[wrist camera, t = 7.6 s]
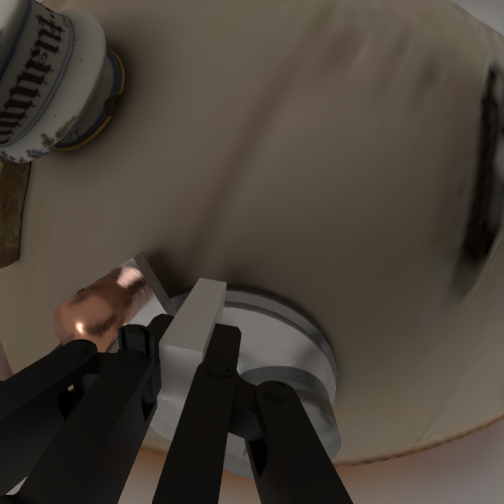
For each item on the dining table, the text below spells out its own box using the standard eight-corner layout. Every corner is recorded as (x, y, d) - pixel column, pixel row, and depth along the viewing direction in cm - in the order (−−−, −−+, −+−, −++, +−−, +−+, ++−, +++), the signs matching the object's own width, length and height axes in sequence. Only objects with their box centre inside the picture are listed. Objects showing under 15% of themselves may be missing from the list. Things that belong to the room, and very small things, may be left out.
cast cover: (304, 347, 18) (318, 406, 12) (341, 416, 20) (356, 467, 14) (197, 387, 19) (180, 443, 14) (250, 445, 21) (248, 495, 15)
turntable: (245, 194, 17) (231, 203, 9) (355, 417, 21) (377, 485, 13) (64, 301, 19) (0, 348, 11) (199, 460, 24) (186, 519, 16)
